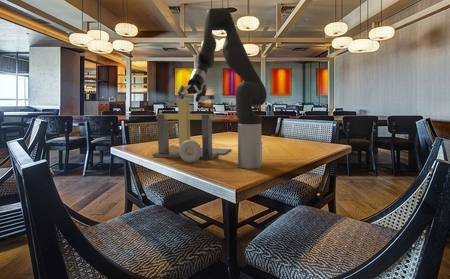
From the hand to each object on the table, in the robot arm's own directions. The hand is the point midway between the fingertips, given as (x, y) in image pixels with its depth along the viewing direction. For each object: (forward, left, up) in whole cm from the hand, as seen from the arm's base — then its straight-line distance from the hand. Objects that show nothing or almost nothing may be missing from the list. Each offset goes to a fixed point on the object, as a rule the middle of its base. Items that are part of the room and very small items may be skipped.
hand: (188, 101), depth 127 cm
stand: (0, +5, -27) cm, 27 cm away
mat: (-7, -10, -27) cm, 29 cm away
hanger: (0, +5, -24) cm, 24 cm away
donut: (-8, +17, -27) cm, 33 cm away
